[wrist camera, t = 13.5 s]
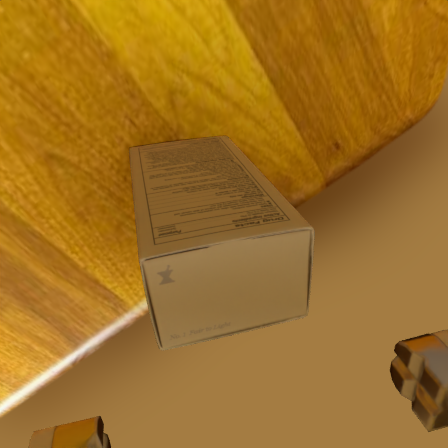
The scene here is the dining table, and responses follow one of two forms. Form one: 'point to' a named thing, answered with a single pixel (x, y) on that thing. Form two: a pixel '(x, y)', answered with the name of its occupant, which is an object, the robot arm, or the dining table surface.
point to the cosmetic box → (216, 242)
